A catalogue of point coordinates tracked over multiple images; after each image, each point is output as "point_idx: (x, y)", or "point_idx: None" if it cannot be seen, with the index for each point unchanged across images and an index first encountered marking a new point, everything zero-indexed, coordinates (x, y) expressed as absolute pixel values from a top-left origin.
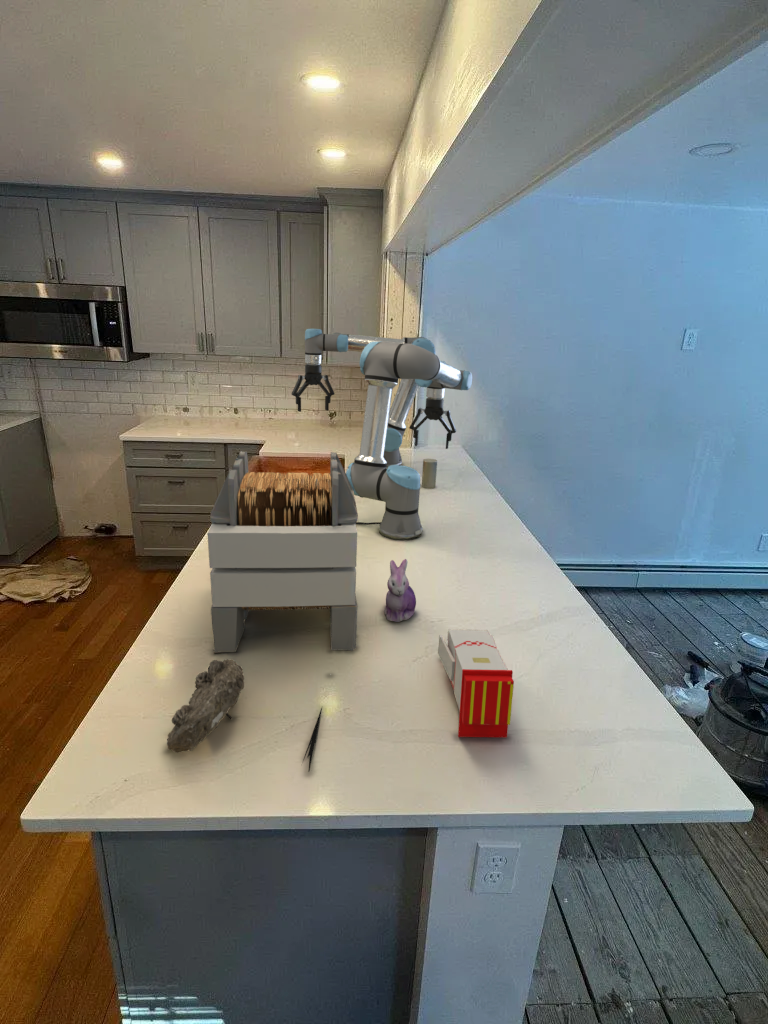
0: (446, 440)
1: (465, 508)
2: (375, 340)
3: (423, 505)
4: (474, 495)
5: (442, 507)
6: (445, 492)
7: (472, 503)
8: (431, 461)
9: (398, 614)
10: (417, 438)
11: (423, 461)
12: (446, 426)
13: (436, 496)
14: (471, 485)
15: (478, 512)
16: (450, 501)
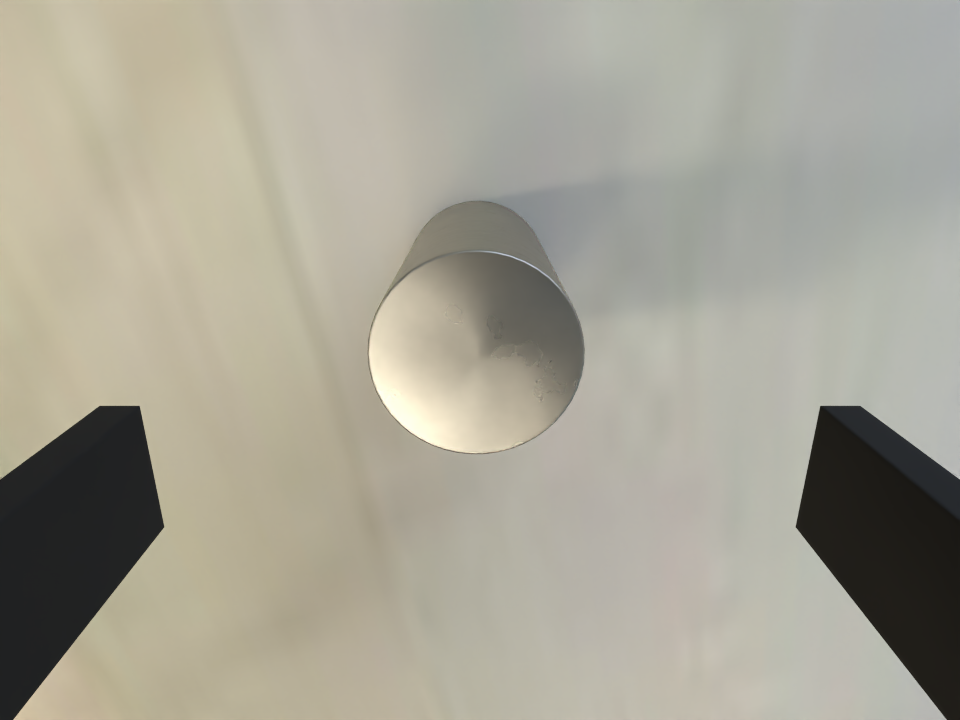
0: (918, 674)
1: (802, 661)
2: None
3: (520, 694)
4: (904, 369)
5: (647, 689)
6: (649, 378)
7: None
8: (503, 410)
9: None
10: (55, 587)
11: (384, 398)
12: None
13: (584, 501)
14: (918, 42)
15: (884, 698)
16: (698, 569)
